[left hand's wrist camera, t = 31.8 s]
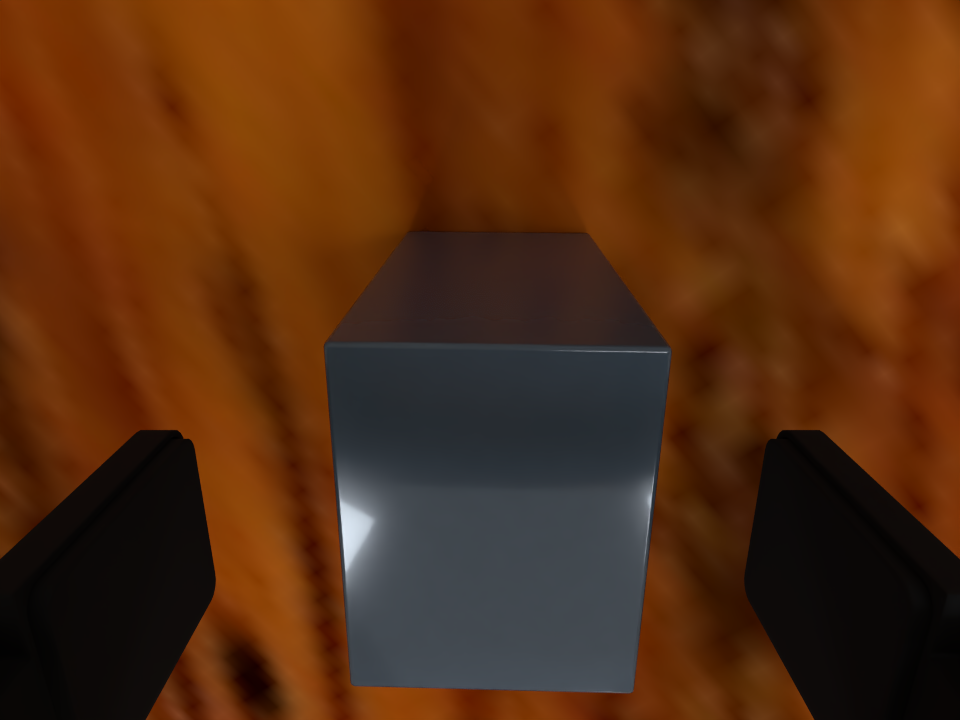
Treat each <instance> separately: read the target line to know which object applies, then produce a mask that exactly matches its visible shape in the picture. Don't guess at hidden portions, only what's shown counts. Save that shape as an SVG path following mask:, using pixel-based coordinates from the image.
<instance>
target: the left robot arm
mask: <svg viewBox="0 0 960 720" xmlns="http://www.w3.org/2000/svg"><path fill="white" fill-rule="evenodd" d="M215 584H216V577H215V570H214V564H213V557H212V551H211V545H210V539H209V533H208V527H207V521H206V515H205V509H204V503H203V497H202V491H201V485H200V479H199V473H198V466H197V460H196V454H195V449H194V445H193V443H192V441H191V440H190V439H183V436H182V435H181V433H180V432H179V431H178V430H140V431H138V432H137V433H136V434H134V435H133V436H132V437H131V438H130V439H129V440H128V441H127V442H126V443H125V444H124V445H123V446H122V447H120V448H119V449H118V450H117V451H116V452H115V453H114V454H113V455H112V456H111V457H110V458H109V459H108V460H107V461H105V462H104V463H103V464H102V465H101V466H100V467H99V468H98V469H97V470H96V471H95V472H94V473H93V474H91V475H90V476H89V477H88V478H87V479H86V480H85V481H84V482H83V483H82V484H81V485H80V486H79V487H77V488H76V489H75V490H74V491H73V492H72V493H71V494H70V495H69V496H68V497H67V498H66V499H65V500H63V501H62V502H61V503H60V504H59V505H58V506H57V507H56V508H55V509H54V510H53V511H52V512H51V513H50V514H48V515H47V516H46V517H45V518H44V519H43V520H42V521H41V522H40V523H39V524H38V525H37V526H36V527H34V528H33V529H32V530H31V531H30V532H29V533H28V534H27V535H26V536H25V537H24V538H23V539H22V540H20V541H19V542H18V543H17V544H16V545H15V546H14V547H13V548H12V549H11V550H10V551H9V552H8V553H6V554H5V555H4V556H3V557H2V558H1V559H0V720H146V718H147V716H148V714H149V712H150V711H151V709H152V707H153V705H154V703H155V702H156V700H157V698H158V696H159V694H160V693H161V691H162V689H163V687H164V685H165V683H166V682H167V680H168V678H169V676H170V674H171V673H172V671H173V669H174V667H175V665H176V664H177V662H178V660H179V658H180V656H181V654H182V653H183V651H184V649H185V647H186V645H187V644H188V642H189V640H190V638H191V636H192V635H193V633H194V631H195V629H196V627H197V625H198V624H199V622H200V620H201V618H202V616H203V615H204V613H205V611H206V609H207V607H208V606H209V604H210V602H211V600H212V598H213V595H214V591H215ZM744 584H745V591H746V595H747V598H748V600H749V602H750V604H751V606H752V607H753V609H754V611H755V613H756V615H757V616H758V618H759V620H760V622H761V624H762V625H763V627H764V629H765V631H766V633H767V635H768V636H769V638H770V640H771V642H772V644H773V645H774V647H775V649H776V651H777V653H778V654H779V656H780V658H781V660H782V662H783V664H784V665H785V667H786V669H787V671H788V673H789V674H790V676H791V678H792V680H793V682H794V683H795V685H796V687H797V689H798V691H799V693H800V694H801V696H802V698H803V700H804V702H805V703H806V705H807V707H808V709H809V711H810V713H811V714H812V716H813V718H814V720H960V559H959V558H958V557H957V556H956V555H955V554H954V553H952V552H951V551H950V550H949V549H948V548H947V547H946V546H945V545H944V544H943V543H942V542H941V541H940V540H938V539H937V538H936V537H935V536H934V535H933V534H932V533H931V532H930V531H929V530H928V529H927V528H926V527H924V526H923V525H922V524H921V523H920V522H919V521H918V520H917V519H916V518H915V517H914V516H913V515H912V514H910V513H909V512H908V511H907V510H906V509H905V508H904V507H903V506H902V505H901V504H900V503H899V502H898V501H897V500H895V499H894V498H893V497H892V496H891V495H890V494H889V493H888V492H887V491H886V490H885V489H884V488H883V487H881V486H880V485H879V484H878V483H877V482H876V481H875V480H874V479H873V478H872V477H871V476H870V475H869V474H867V473H866V472H865V471H864V470H863V469H862V468H861V467H860V466H859V465H858V464H857V463H856V462H855V461H853V460H852V459H851V458H850V457H849V456H848V455H847V454H846V453H845V452H844V451H843V450H842V449H841V448H840V447H838V446H837V445H836V444H835V443H834V442H833V441H832V440H831V439H830V438H829V437H828V436H827V435H826V434H824V433H823V432H822V431H820V430H782V431H781V432H780V433H779V435H778V436H777V439H770V440H769V441H768V443H767V445H766V449H765V454H764V460H763V466H762V473H761V479H760V485H759V491H758V497H757V503H756V509H755V515H754V521H753V527H752V533H751V539H750V545H749V551H748V557H747V564H746V570H745V577H744Z"/></svg>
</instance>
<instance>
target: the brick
mask: <svg viewBox="0 0 960 720" xmlns="http://www.w3.org/2000/svg"><path fill="white" fill-rule="evenodd" d="M324 355H325V368H326V380H327V393H328V406H329V418H330V431H331V443H332V456H333V468H334V481H335V493H336V506H337V519H338V531H339V544H340V556H341V569H342V581H343V594H344V606H345V619H346V632H347V644H348V657H349V669H350V681H351V684H352V685H353V686H367V687H405V688H442V689H480V690H518V691H555V692H593V693H632V692H633V689H634V683H635V674H636V665H637V656H638V647H639V638H640V629H641V621H642V612H643V603H644V594H645V585H646V576H647V567H648V558H649V550H650V541H651V532H652V523H653V514H654V505H655V496H656V488H657V479H658V470H659V461H660V452H661V443H662V434H663V426H664V417H665V408H666V399H667V390H668V381H669V372H670V364H671V355H672V350H671V347H670V346H669V344H668V343H667V342H666V340H665V339H664V338H663V336H662V335H661V333H660V332H659V331H658V329H657V328H656V326H655V325H654V324H653V322H652V321H651V320H650V318H649V317H648V315H647V314H646V313H645V311H644V310H643V308H642V307H641V306H640V304H639V303H638V302H637V300H636V299H635V297H634V296H633V295H632V293H631V292H630V290H629V289H628V288H627V286H626V285H625V284H624V282H623V281H622V279H621V278H620V277H619V275H618V274H617V273H616V271H615V270H614V268H613V267H612V266H611V264H610V263H609V261H608V260H607V259H606V257H605V256H604V255H603V253H602V252H601V250H600V249H599V248H598V246H597V245H596V243H595V242H594V241H593V239H592V238H591V237H590V235H589V234H587V233H497V232H408V233H407V234H406V235H405V237H404V238H403V239H402V241H401V242H400V243H399V245H398V246H397V247H396V249H395V250H394V251H393V253H392V254H391V255H390V257H389V258H388V259H387V261H386V262H385V263H384V265H383V266H382V267H381V269H380V270H379V271H378V273H377V274H376V275H375V277H374V278H373V279H372V281H371V282H370V283H369V285H368V286H367V287H366V289H365V290H364V291H363V293H362V294H361V295H360V297H359V298H358V299H357V301H356V302H355V303H354V305H353V306H352V307H351V309H350V310H349V311H348V313H347V314H346V315H345V317H344V318H343V319H342V321H341V322H340V323H339V325H338V326H337V327H336V328H335V330H334V331H333V332H332V334H331V335H330V336H329V338H328V339H327V340H326V342H325V344H324Z"/></svg>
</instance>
